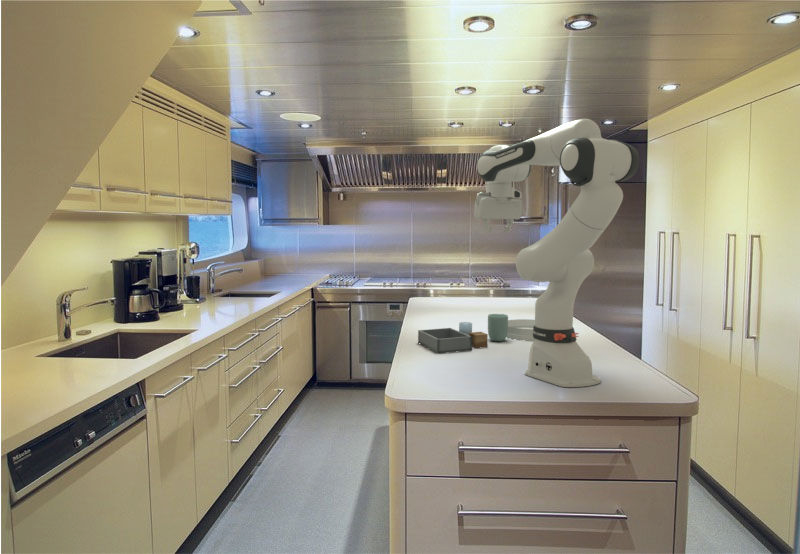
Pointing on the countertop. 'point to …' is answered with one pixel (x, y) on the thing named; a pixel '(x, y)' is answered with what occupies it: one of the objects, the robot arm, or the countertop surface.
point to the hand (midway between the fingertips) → (497, 232)
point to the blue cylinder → (465, 327)
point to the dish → (521, 329)
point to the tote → (444, 340)
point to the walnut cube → (479, 339)
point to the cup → (497, 327)
